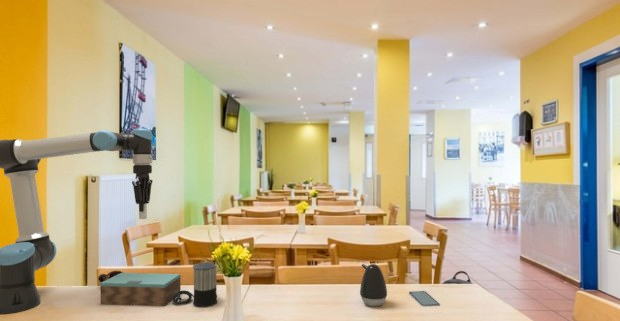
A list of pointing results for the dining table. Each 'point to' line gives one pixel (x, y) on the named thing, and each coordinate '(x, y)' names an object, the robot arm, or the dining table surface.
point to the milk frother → (201, 286)
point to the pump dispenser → (373, 286)
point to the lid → (141, 280)
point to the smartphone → (424, 298)
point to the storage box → (139, 295)
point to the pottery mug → (110, 274)
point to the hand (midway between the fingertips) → (142, 218)
